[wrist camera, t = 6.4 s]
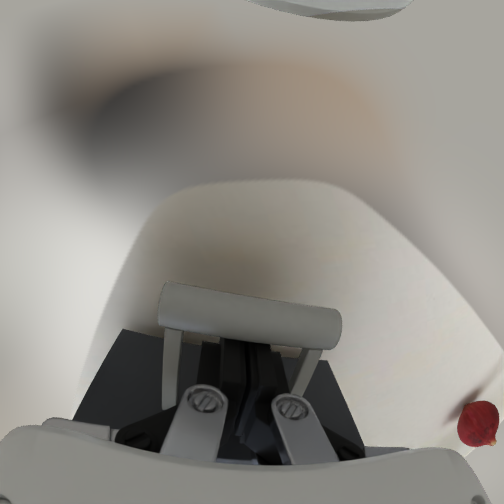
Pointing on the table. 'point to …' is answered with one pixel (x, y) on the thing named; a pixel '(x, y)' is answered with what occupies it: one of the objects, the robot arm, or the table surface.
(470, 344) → the table surface
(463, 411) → the onion
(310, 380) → the drawer
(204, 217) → the table surface
